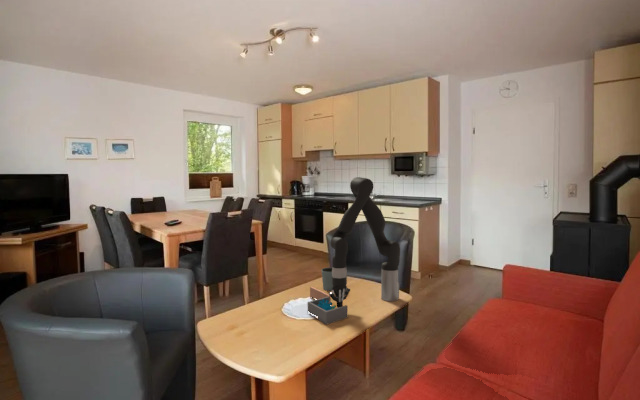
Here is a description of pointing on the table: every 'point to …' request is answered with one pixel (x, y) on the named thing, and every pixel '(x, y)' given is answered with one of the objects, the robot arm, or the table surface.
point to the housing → (327, 315)
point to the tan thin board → (318, 294)
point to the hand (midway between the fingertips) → (339, 308)
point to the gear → (326, 305)
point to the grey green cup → (327, 279)
